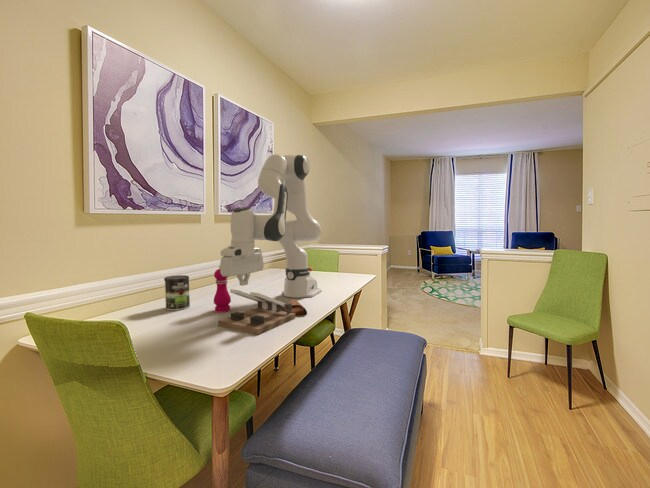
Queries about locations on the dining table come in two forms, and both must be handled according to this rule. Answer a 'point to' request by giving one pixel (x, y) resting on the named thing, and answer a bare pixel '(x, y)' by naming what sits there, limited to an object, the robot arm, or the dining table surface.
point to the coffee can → (177, 292)
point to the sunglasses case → (295, 308)
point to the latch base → (257, 329)
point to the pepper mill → (221, 293)
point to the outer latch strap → (268, 299)
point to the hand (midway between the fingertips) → (243, 284)
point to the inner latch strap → (247, 296)
